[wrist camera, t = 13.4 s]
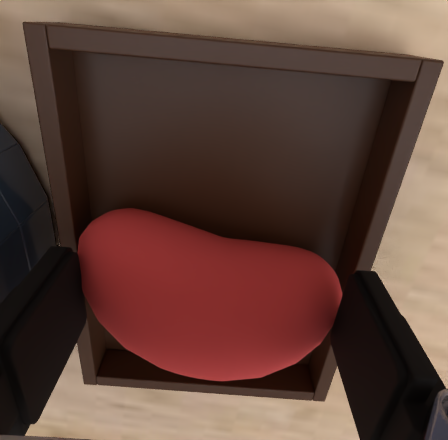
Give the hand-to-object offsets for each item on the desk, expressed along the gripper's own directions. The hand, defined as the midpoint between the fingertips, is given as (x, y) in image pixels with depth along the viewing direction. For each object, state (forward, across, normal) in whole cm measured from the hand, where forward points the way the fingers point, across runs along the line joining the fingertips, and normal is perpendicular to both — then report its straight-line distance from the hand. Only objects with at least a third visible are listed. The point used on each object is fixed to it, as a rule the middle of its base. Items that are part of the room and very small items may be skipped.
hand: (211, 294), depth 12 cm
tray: (+4, 0, 0) cm, 4 cm away
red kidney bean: (+3, 0, +1) cm, 3 cm away
